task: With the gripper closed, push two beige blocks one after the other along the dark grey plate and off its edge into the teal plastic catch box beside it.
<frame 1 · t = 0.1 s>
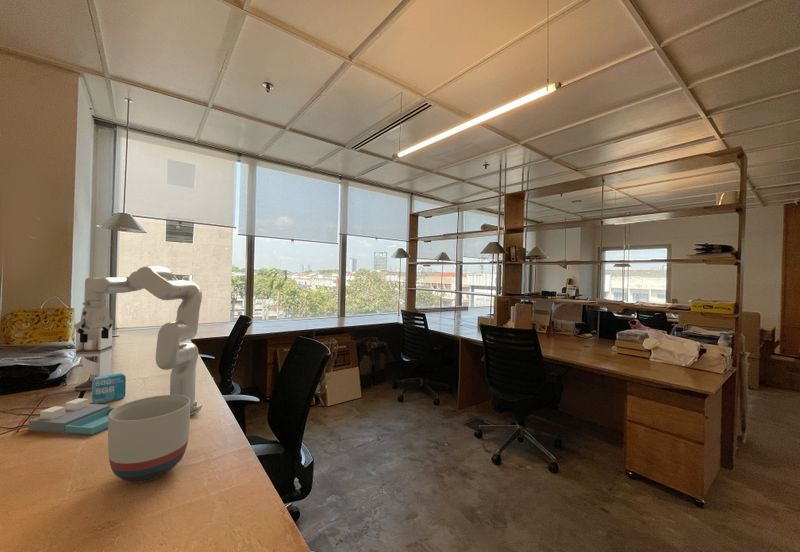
hand: (94, 340, 153), 31 cm above the table, tool pointing down, fingers open, 9 cm apart
catch box: (101, 424, 135), on the table
data package: (108, 400, 161), on the table
planter: (150, 475, 102), on the table
beige block 1: (77, 407, 142), point 4 cm above the table, touching plate
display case: (93, 386, 179), on the table
beige block 2: (52, 416, 133), point 4 cm above the table, touching plate
plate: (71, 421, 137), on the table
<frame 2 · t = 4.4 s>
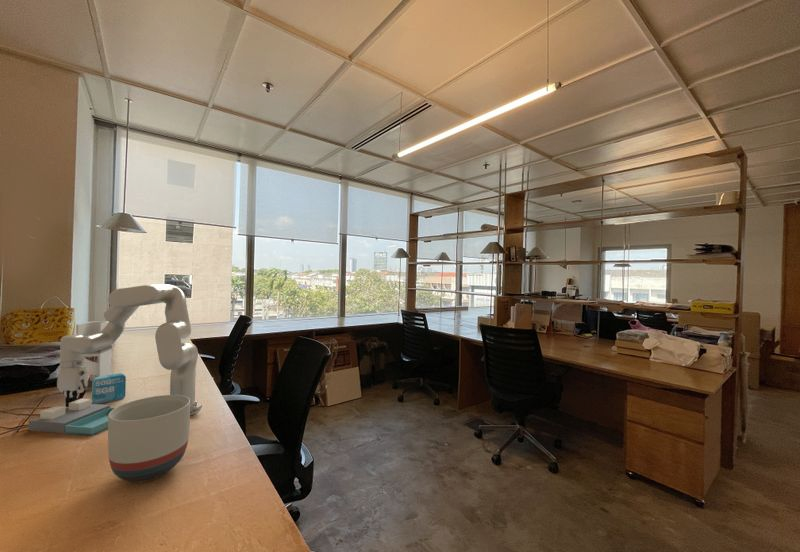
hand: (71, 405, 142), 5 cm above the table, tool pointing down, fingers closed
beige block 1: (80, 407, 142), point 4 cm above the table, touching gripper
everything else where it was.
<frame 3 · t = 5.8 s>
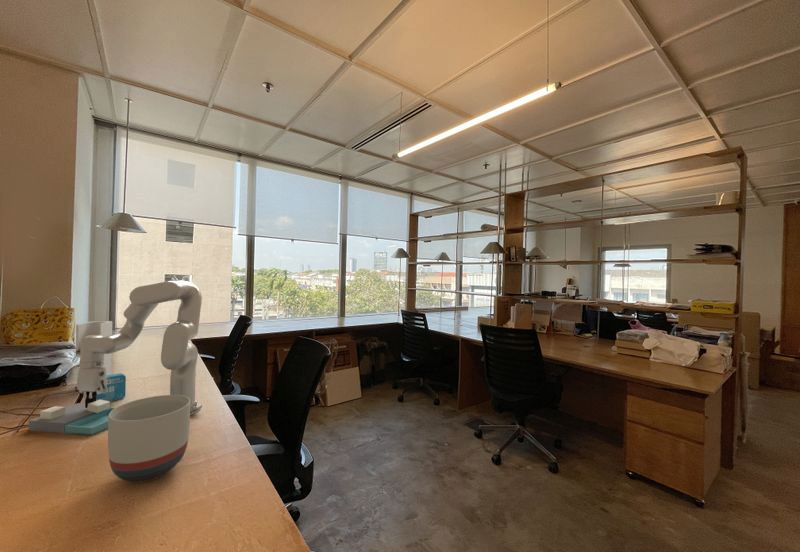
hand: (90, 406, 141), 5 cm above the table, tool pointing down, fingers closed
beige block 1: (98, 409, 140), point 4 cm above the table, tilted 7°, touching gripper, plate
everything else where it was.
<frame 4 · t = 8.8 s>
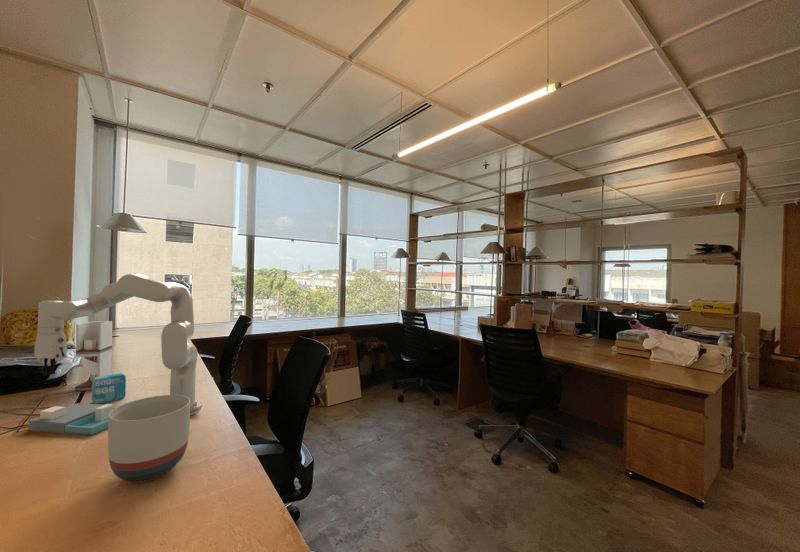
hand: (49, 374, 135), 20 cm above the table, tool pointing down, fingers closed
beige block 1: (101, 411, 140), point 3 cm above the table, tilted 90°, touching catch box
everything else where it was.
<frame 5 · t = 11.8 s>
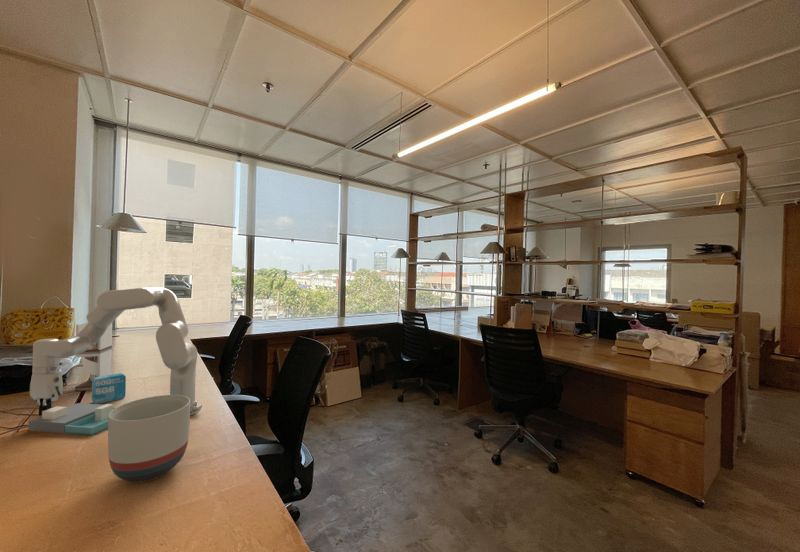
hand: (45, 414, 133), 5 cm above the table, tool pointing down, fingers closed
beige block 2: (54, 416, 133), point 4 cm above the table, touching gripper
everything else where it was.
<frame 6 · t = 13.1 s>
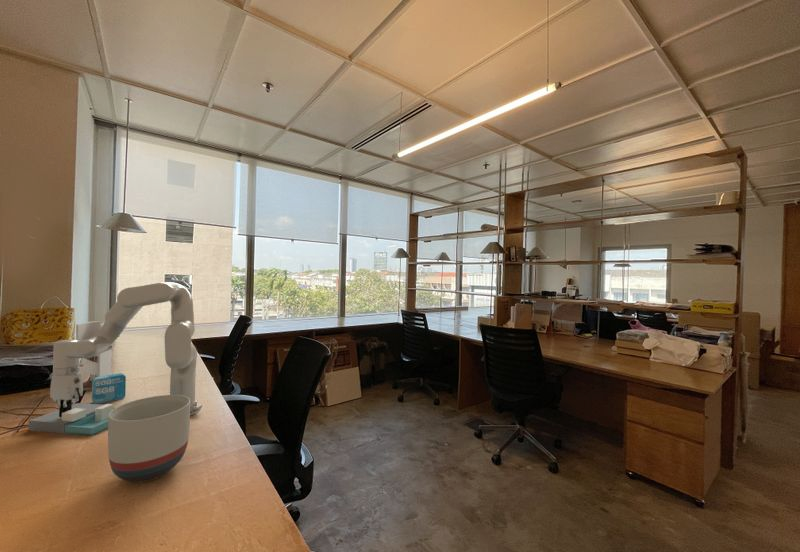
hand: (65, 415, 132), 5 cm above the table, tool pointing down, fingers closed
beige block 2: (74, 418, 131), point 4 cm above the table, touching gripper
everything else where it was.
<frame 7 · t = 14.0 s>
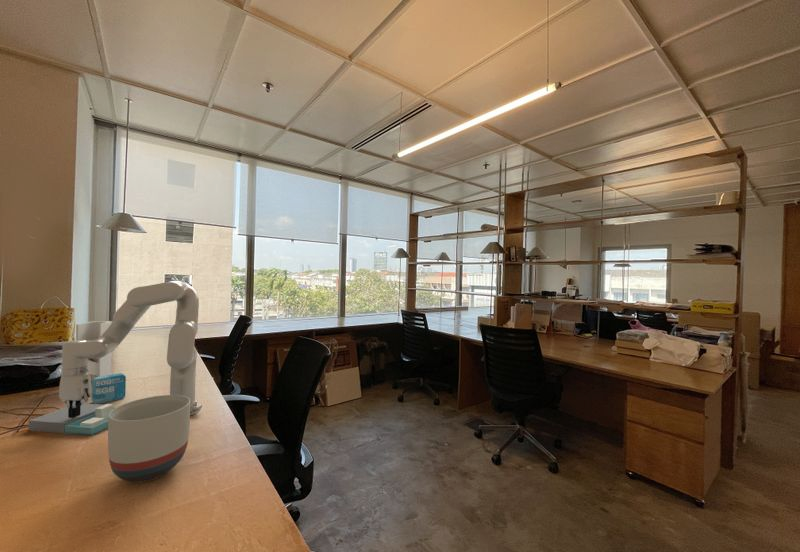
hand: (74, 416, 132), 5 cm above the table, tool pointing down, fingers closed
beige block 2: (92, 420, 131), point 4 cm above the table, tilted 180°, touching catch box
everything else where it was.
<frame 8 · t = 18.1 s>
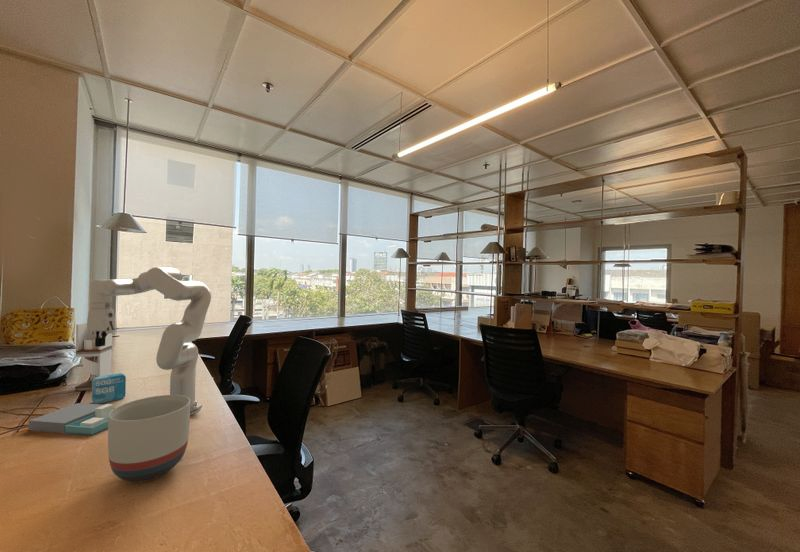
hand: (100, 345, 150), 29 cm above the table, tool pointing down, fingers closed
nothing on the table moved.
at the end: beige block 1 inside the target area on the catch box (6.5 cm from its centre), point 3.1 cm above the catch box's base; beige block 2 inside the target area on the catch box (4.6 cm from its centre), point 3.6 cm above the catch box's base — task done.
